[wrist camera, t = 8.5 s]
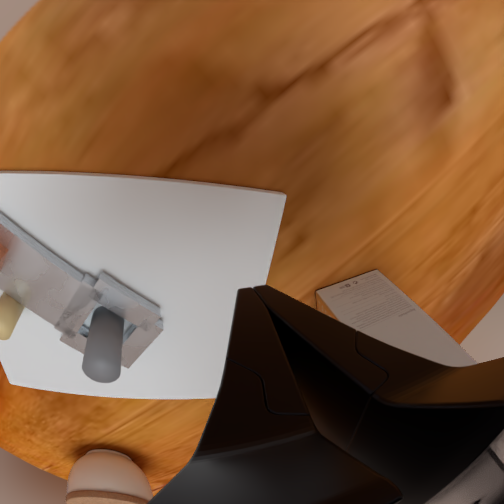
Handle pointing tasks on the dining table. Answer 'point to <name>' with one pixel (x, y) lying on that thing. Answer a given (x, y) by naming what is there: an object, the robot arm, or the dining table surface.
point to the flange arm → (71, 294)
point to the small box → (390, 318)
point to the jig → (138, 277)
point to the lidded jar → (107, 480)
